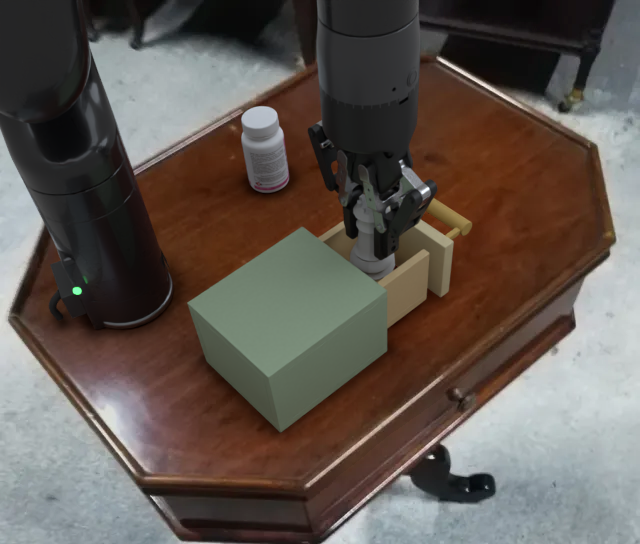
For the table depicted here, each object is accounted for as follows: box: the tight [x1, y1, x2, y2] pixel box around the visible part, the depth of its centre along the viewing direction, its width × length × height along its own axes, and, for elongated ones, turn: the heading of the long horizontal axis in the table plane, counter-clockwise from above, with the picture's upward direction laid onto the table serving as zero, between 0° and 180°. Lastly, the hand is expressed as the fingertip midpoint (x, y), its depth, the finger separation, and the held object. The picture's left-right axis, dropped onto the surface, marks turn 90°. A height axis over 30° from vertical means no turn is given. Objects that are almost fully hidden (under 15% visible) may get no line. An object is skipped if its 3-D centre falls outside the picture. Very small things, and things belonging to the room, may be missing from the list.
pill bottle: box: [240, 105, 290, 194], centre depth 84 cm, size 5×5×8 cm
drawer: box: [317, 198, 473, 329], centre depth 73 cm, size 17×10×7 cm, turn 131°
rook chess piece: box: [349, 194, 396, 281], centre depth 69 cm, size 4×4×8 cm
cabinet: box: [186, 226, 388, 433], centre depth 70 cm, size 14×12×9 cm
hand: (371, 243), depth 70 cm, fingers closed on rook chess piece, 3 cm apart
